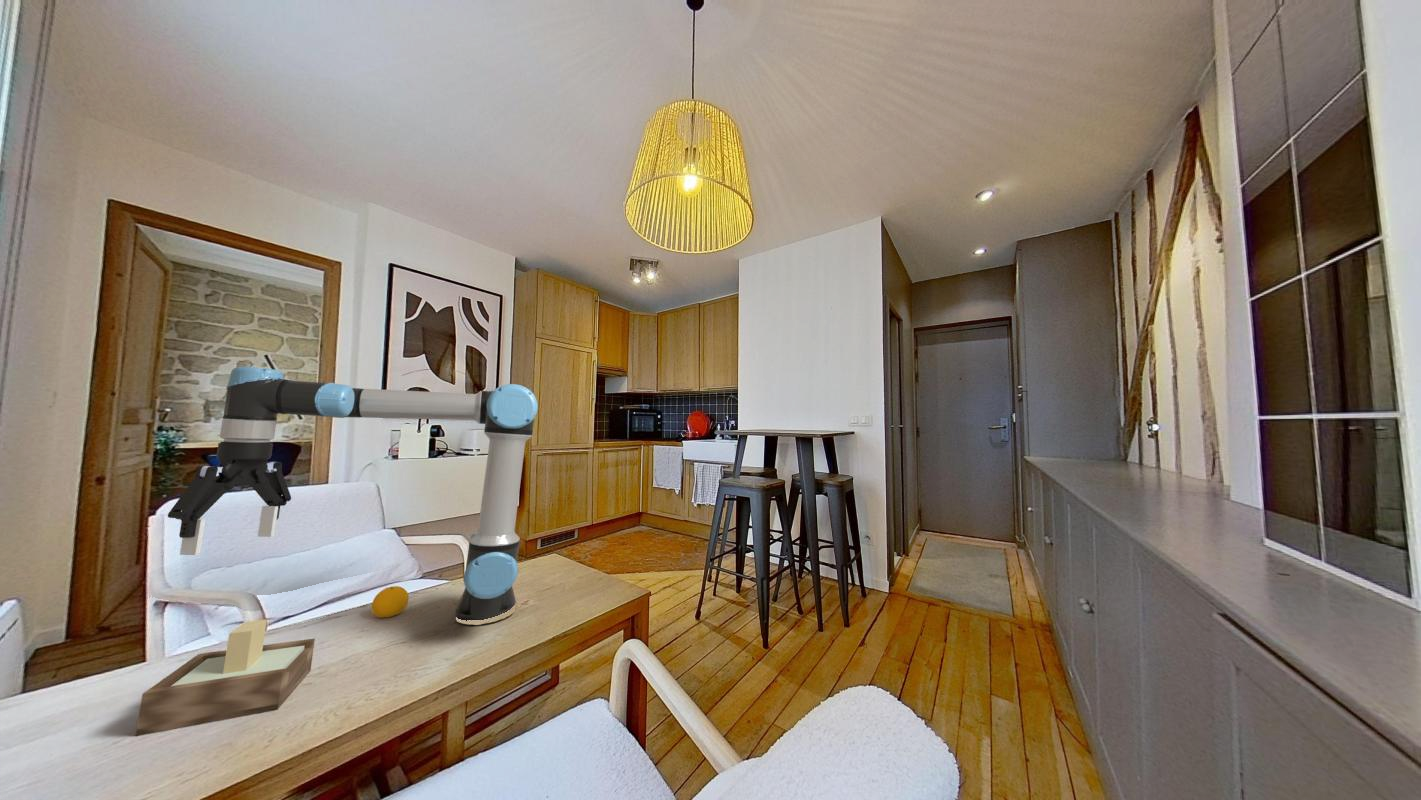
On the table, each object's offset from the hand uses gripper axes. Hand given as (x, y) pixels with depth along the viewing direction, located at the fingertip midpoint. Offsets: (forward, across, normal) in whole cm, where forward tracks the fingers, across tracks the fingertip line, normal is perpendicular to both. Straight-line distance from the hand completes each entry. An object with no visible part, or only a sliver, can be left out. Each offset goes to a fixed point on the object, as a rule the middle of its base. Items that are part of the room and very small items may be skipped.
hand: (231, 544), depth 82 cm
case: (+26, +5, +10) cm, 29 cm away
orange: (+27, -30, +12) cm, 42 cm away
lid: (+21, +5, +10) cm, 24 cm away
